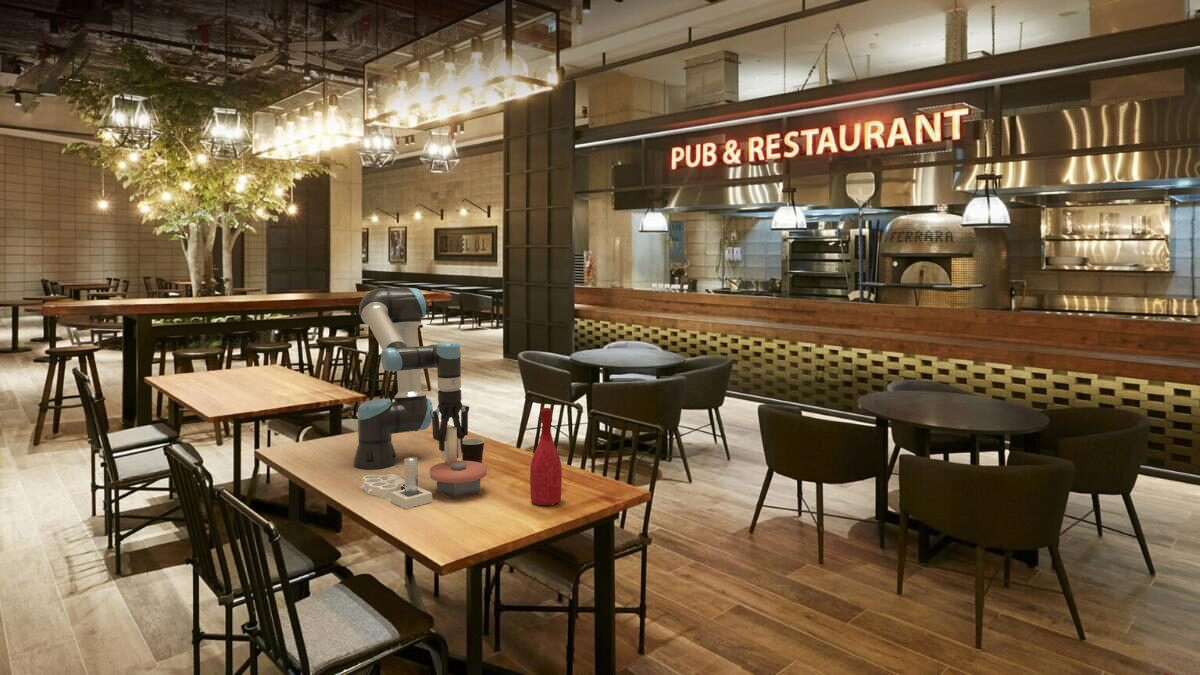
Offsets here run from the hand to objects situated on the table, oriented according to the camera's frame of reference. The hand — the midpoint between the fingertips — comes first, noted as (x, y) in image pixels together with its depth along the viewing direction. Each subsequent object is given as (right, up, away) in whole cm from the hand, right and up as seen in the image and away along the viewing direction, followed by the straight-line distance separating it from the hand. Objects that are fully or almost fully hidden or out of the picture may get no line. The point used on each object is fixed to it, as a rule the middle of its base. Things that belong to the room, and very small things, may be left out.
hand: (451, 458), depth 238 cm
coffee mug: (+3, -7, +23) cm, 25 cm away
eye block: (-9, -11, -15) cm, 21 cm away
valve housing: (+3, -10, -5) cm, 12 cm away
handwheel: (+3, -4, -5) cm, 8 cm away
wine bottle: (+32, -12, -12) cm, 37 cm away
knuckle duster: (-21, -10, -2) cm, 24 cm away
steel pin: (-9, -11, -15) cm, 21 cm away
